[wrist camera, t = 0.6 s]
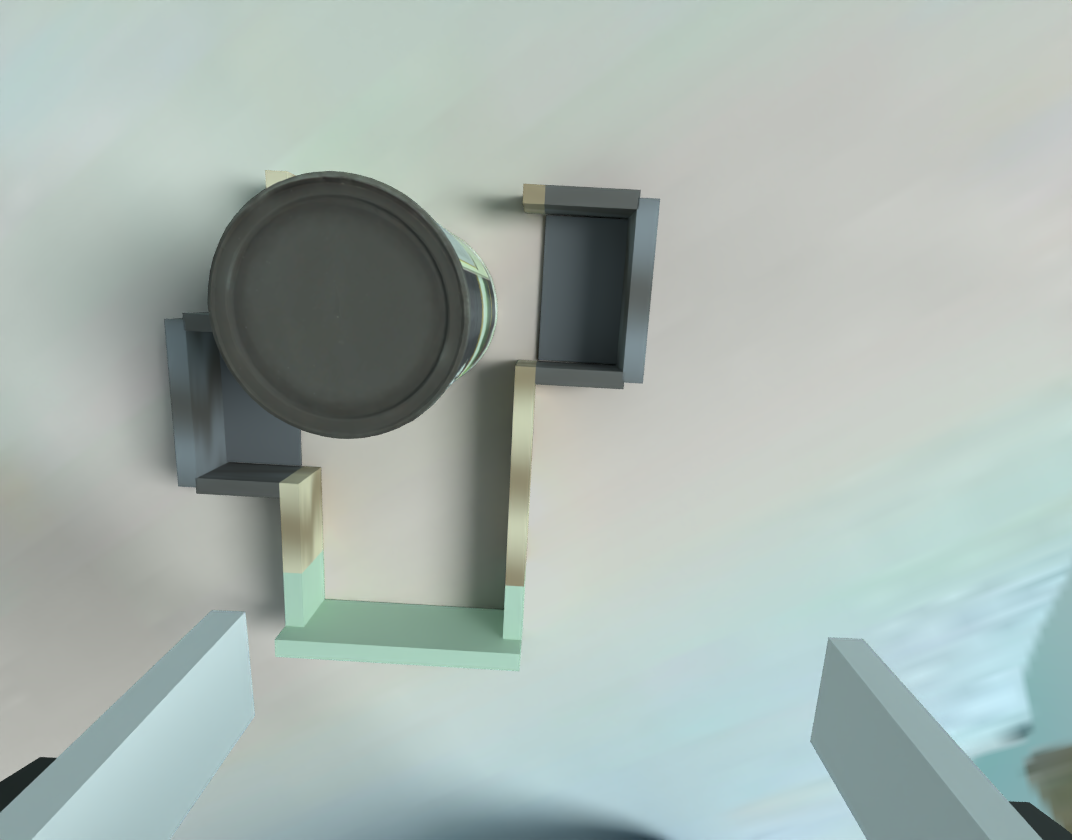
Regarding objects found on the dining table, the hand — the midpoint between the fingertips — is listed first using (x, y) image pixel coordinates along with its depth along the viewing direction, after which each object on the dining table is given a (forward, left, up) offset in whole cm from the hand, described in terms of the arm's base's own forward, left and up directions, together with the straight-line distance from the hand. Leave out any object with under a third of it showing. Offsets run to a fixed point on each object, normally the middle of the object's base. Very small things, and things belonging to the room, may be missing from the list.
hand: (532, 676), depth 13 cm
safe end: (+12, -8, -25) cm, 29 cm away
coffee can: (-8, -8, -25) cm, 28 cm away
